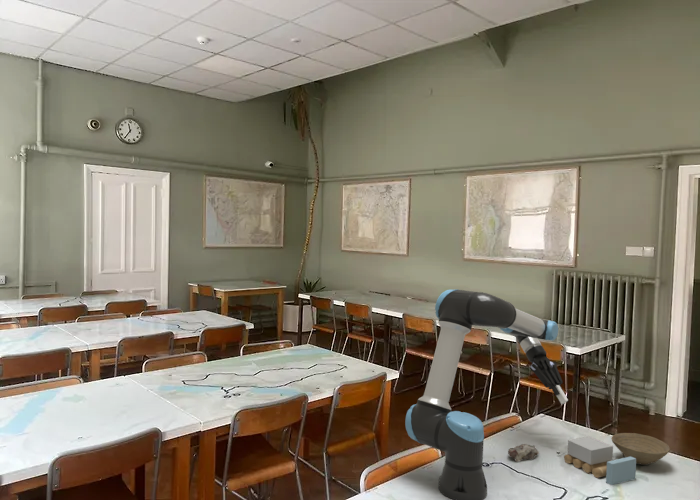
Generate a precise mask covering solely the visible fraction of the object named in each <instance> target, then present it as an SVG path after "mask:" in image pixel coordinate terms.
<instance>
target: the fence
mask: <svg viewBox="0 0 700 500" xmlns="http://www.w3.org/2000/svg"><path fill="white" fill-rule="evenodd" d="M636 469H637V463H636V458H633V457H631V456H630V457H622V458H617V459H613V460H612V461H608V462H607V471H606V476H605V483H606V484H608V485H610V486H613V485H617V484H621V483H625V482H629V481H633V480H636V476H637V475H636V471H637V470H636Z"/></svg>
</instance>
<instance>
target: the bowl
mask: <svg viewBox="0 0 700 500" xmlns="http://www.w3.org/2000/svg"><path fill="white" fill-rule="evenodd" d="M611 441H612V443H613V445H614V446H615V447H616V448H617V449H618V451H620V453H622V455H623V457H624V458H626V457H630V456H631V457H633V458H636V465H642V466H643V465H651V464H655V463H656V462H657V461H660V460H661V459H663V458H664V457H665V456H666V455H667V454H669V452H670V450H671V449H670V446H669V445H668V443H666V442H665V441H663V440H660V439H658V438H656V437H654V436H650V435H648V434H647V435H645V434H642V433H635V432H633V433H632V432H620V433H616V434H614V435H612V436H611Z"/></svg>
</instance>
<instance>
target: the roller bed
mask: <svg viewBox="0 0 700 500" xmlns="http://www.w3.org/2000/svg"><path fill="white" fill-rule="evenodd" d="M563 460H564V462H565V463H566V464H567V465H568V464H572V465H573V466H574V468H576V469H580V468H582V470H583V472H584V473H585V474H586V473H587V474H588V473H591V474H592V475H593V477H594V478H603V477H606V471H607V462H608V461H606V462H602V463H597V464H593V465H590V464H588V463H586V462H584V461H582V460H580V459H578V458H575V457H573V456H571V455H569V454H565V455H564V456H563ZM610 461H613V460H610Z"/></svg>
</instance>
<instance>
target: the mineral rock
mask: <svg viewBox="0 0 700 500" xmlns="http://www.w3.org/2000/svg"><path fill="white" fill-rule="evenodd" d="M507 453H508V456H509V457H510V458H511V459H513V460H515V462H516V463H520V461H522V460H523V461H526V460H534V459H535V457H536V456H538V455H539V454H540V451H539V450H538V449H537V448H536V445H530V444H527V443H524V444H523V443H522V444H519V445H517V446H515V447H511V448H509V449H508V450H507Z"/></svg>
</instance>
